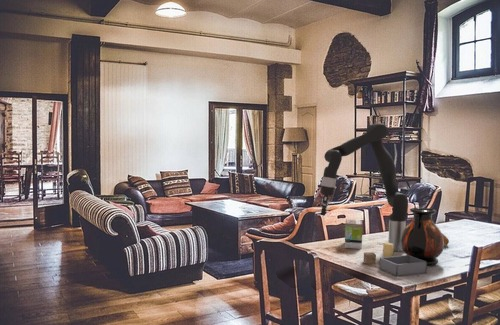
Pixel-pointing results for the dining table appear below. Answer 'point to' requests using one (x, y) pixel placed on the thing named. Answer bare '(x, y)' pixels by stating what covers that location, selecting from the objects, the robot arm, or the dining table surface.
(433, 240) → the amphora vase
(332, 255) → the dining table surface
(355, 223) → the tea box
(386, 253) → the candle
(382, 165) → the robot arm
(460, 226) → the dining table surface
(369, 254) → the cube
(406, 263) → the tote
